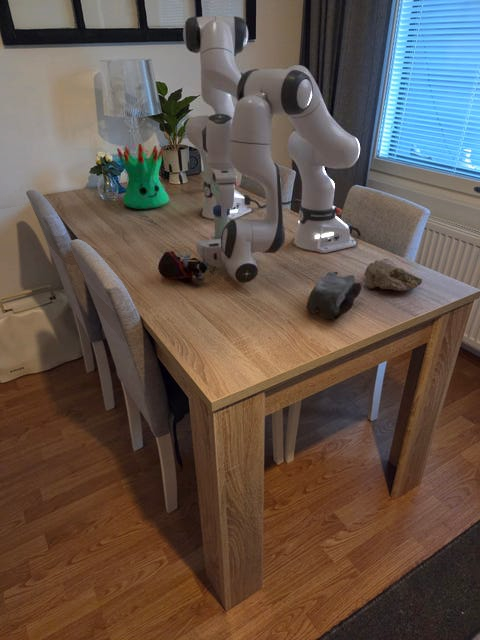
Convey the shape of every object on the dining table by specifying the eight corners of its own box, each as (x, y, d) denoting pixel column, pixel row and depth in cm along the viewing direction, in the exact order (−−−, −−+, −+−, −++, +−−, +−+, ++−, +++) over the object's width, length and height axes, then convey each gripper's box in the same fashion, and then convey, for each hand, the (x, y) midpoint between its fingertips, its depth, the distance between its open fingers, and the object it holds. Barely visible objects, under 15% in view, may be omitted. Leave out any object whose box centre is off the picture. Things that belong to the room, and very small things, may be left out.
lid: (210, 212, 149) (210, 205, 148) (226, 210, 151) (226, 204, 150) (216, 217, 145) (216, 210, 144) (232, 215, 147) (232, 208, 146)
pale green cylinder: (225, 250, 158) (225, 206, 150) (231, 255, 155) (231, 210, 146) (213, 252, 157) (211, 208, 148) (219, 257, 153) (218, 212, 144)
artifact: (382, 302, 128) (424, 295, 132) (389, 280, 123) (432, 273, 128) (348, 271, 141) (387, 266, 146) (354, 250, 137) (393, 246, 142)
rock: (342, 329, 114) (346, 302, 110) (301, 318, 119) (303, 292, 115) (361, 299, 128) (365, 274, 124) (324, 290, 132) (326, 266, 128)
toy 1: (131, 213, 192) (124, 153, 179) (118, 201, 207) (109, 145, 194) (175, 206, 201) (171, 148, 187) (159, 195, 215) (154, 140, 202)
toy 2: (200, 245, 129) (156, 241, 134) (191, 274, 126) (147, 269, 132) (215, 264, 140) (174, 259, 145) (207, 291, 137) (165, 286, 142)
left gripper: (205, 164, 149) (207, 205, 156) (217, 179, 132) (218, 224, 139) (223, 163, 150) (224, 203, 157) (237, 178, 133) (237, 222, 140)
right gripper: (263, 240, 143) (250, 226, 154) (201, 247, 138) (192, 232, 149) (262, 258, 146) (249, 243, 158) (201, 265, 141) (193, 249, 153)
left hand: (221, 213), depth 148 cm, fingers closed on lid, 5 cm apart
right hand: (221, 237), depth 153 cm, fingers closed on pale green cylinder, 5 cm apart
